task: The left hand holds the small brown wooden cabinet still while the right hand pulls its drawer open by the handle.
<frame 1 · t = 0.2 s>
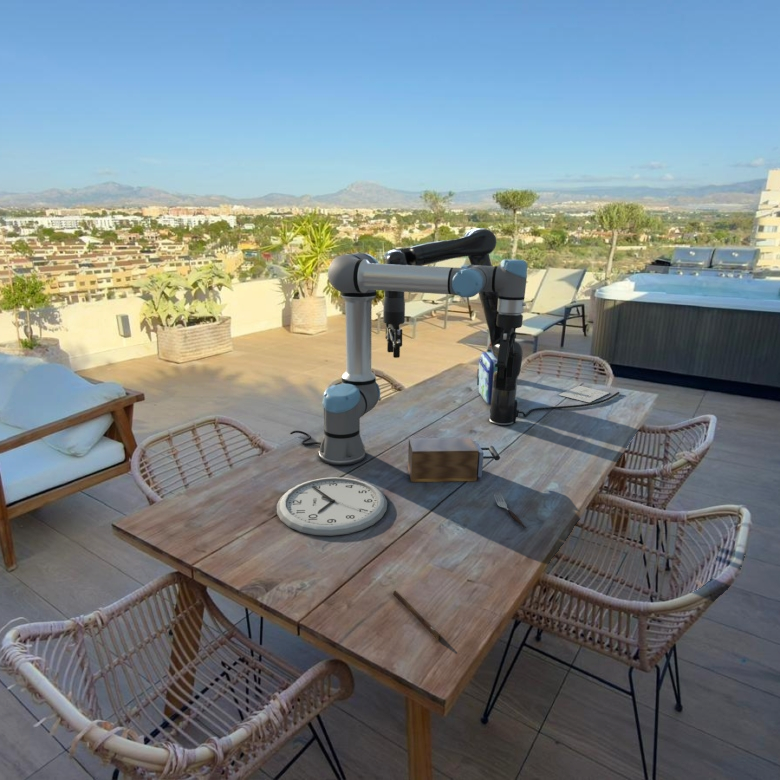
left hand: (504, 382, 161), 28 cm above the table, tool pointing down, fingers open, 13 cm apart
right hand: (393, 354, 187), 29 cm above the table, tool pointing down, fingers open, 8 cm apart
wall clock: (332, 505, 143), on the table
lunch box: (491, 399, 234), on the table
fork: (510, 514, 140), on the table
toy gun: (485, 375, 271), on the table
invitation card: (584, 394, 243), on the table
cabinet: (441, 473, 162), on the table
drawer: (457, 458, 161), point 5 cm above the table, slide at 0.5 cm
dark brown thin rod: (415, 616, 103), on the table
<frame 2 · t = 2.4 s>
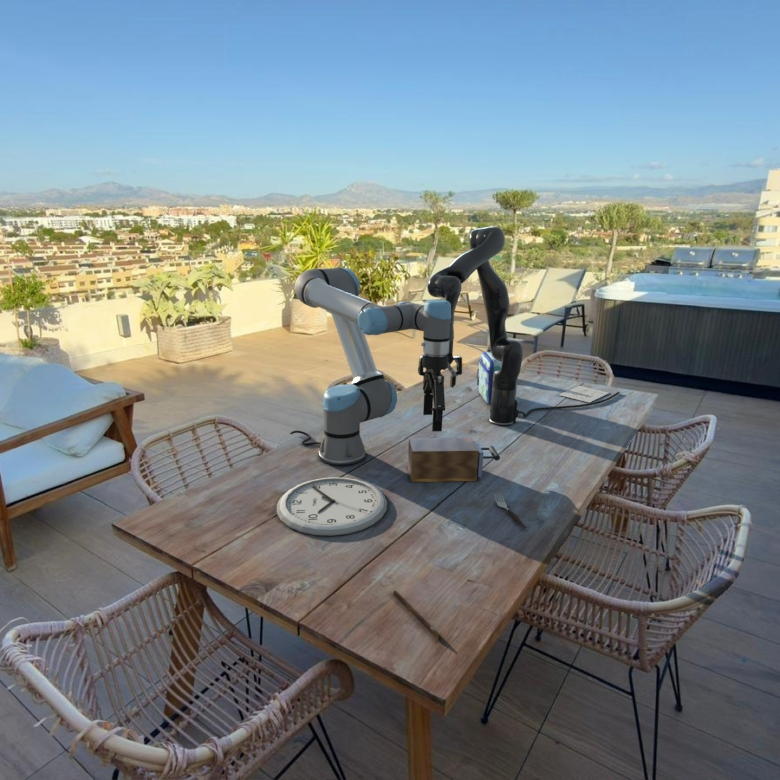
left hand: (432, 422, 158), 17 cm above the table, tool pointing down, fingers open, 13 cm apart
right hand: (439, 387, 172), 23 cm above the table, tool pointing down, fingers open, 8 cm apart
nothing on the table moved.
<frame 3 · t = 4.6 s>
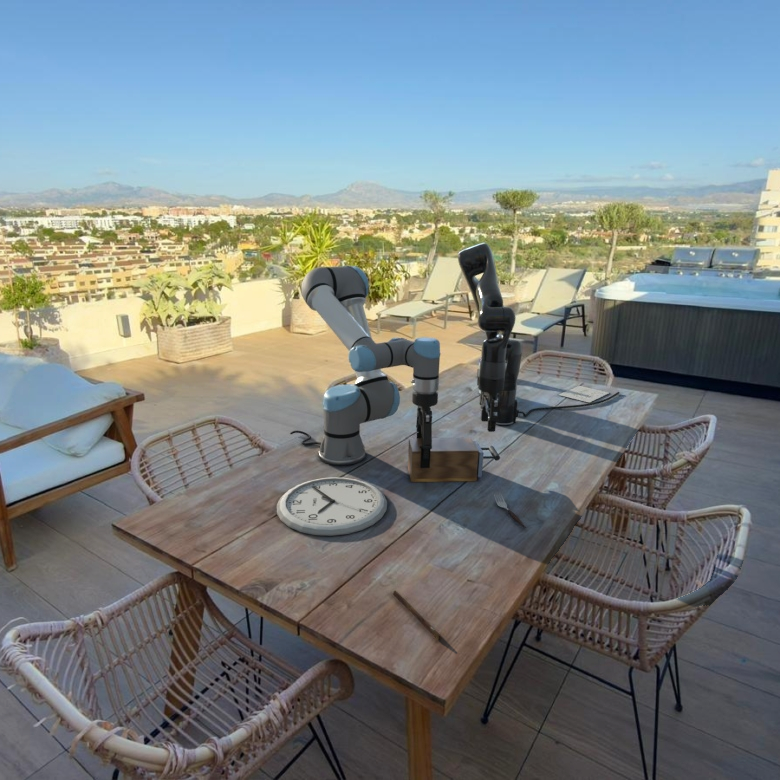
left hand: (422, 459, 160), 5 cm above the table, tool pointing down, fingers closed on cabinet, 10 cm apart
right hand: (487, 426, 159), 16 cm above the table, tool pointing down, fingers open, 8 cm apart
cabinet: (441, 473, 162), on the table, touching left hand
everything else where it was.
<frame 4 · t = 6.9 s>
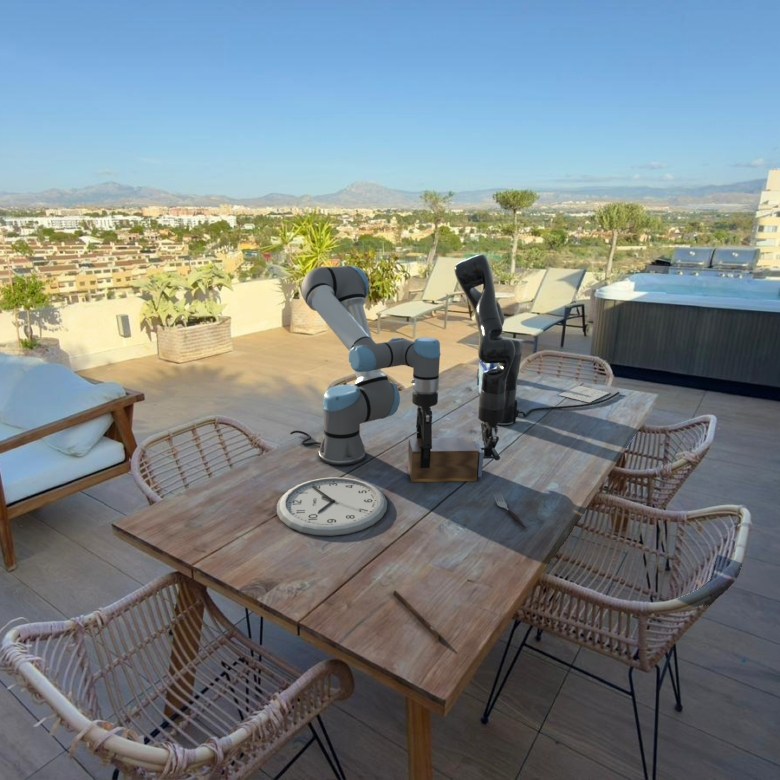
left hand: (422, 459, 160), 5 cm above the table, tool pointing down, fingers closed on cabinet, 10 cm apart
right hand: (487, 457, 162), 5 cm above the table, tool pointing down, fingers closed
cabinet: (441, 473, 162), on the table, touching left hand
drawer: (458, 458, 161), point 5 cm above the table, slide at 0.5 cm, touching right hand
everything else where it was.
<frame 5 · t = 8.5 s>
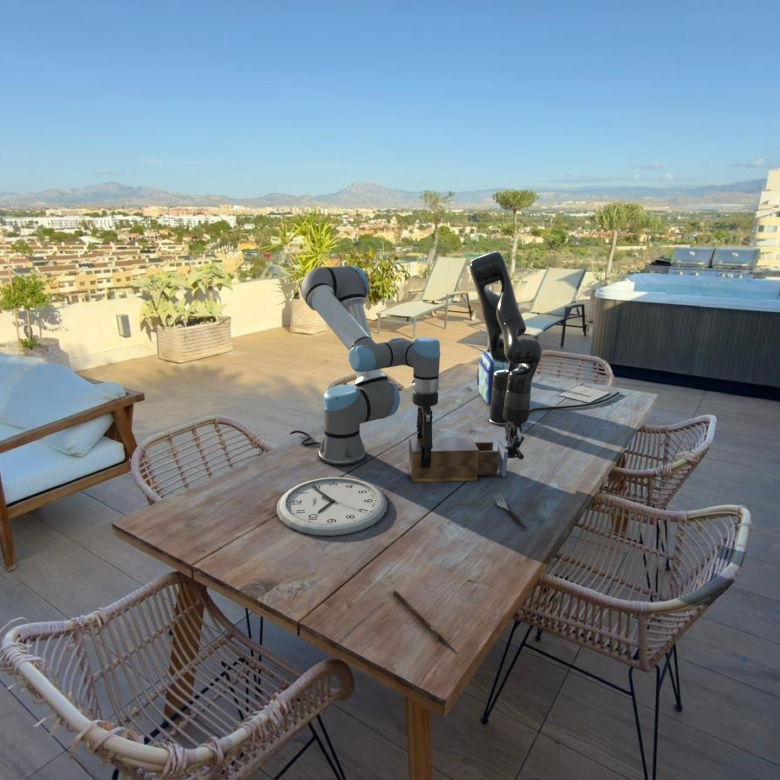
left hand: (423, 459, 160), 5 cm above the table, tool pointing down, fingers closed on cabinet, 10 cm apart
right hand: (510, 457, 162), 5 cm above the table, tool pointing down, fingers closed
cabinet: (442, 473, 162), on the table, touching left hand
drawer: (481, 458, 162), point 5 cm above the table, slide at 7.7 cm, touching right hand
everything else where it was.
when the left hand's fingers open (5 cm above the table, at t = 10.4 s): cabinet stays where it is, on the table.
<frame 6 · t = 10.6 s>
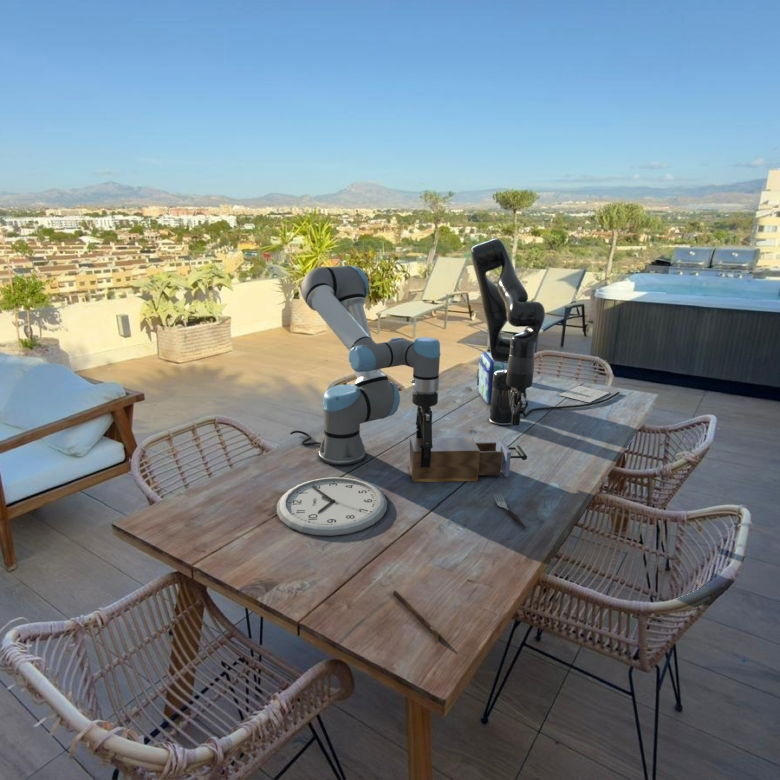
left hand: (422, 458, 160), 5 cm above the table, tool pointing down, fingers open, 12 cm apart
right hand: (515, 424, 159), 16 cm above the table, tool pointing down, fingers closed
cabinet: (442, 473, 162), on the table
drawer: (484, 458, 162), point 5 cm above the table, slide at 8.4 cm
everything else where it was.
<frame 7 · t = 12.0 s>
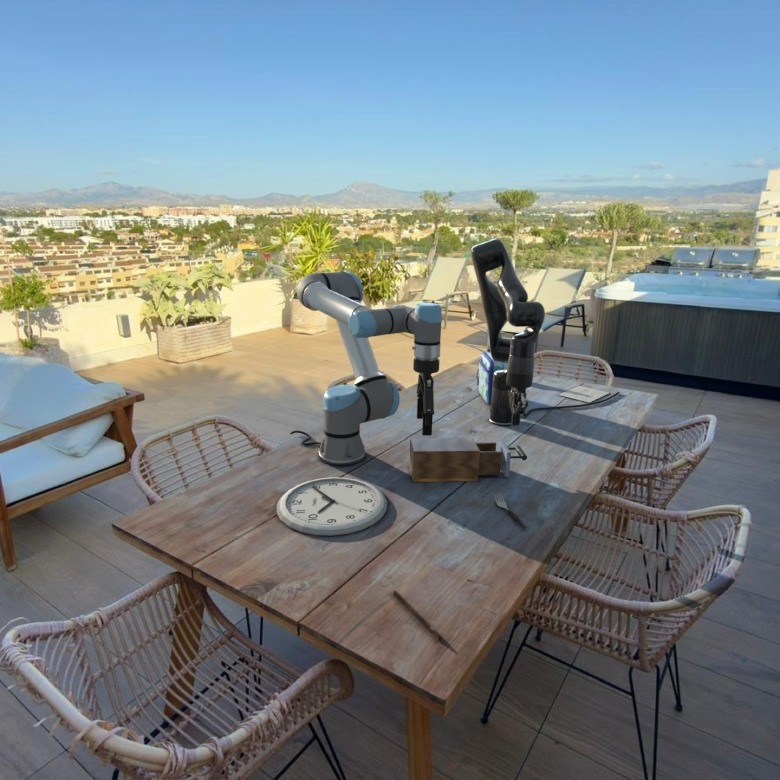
left hand: (423, 426, 157), 16 cm above the table, tool pointing down, fingers open, 13 cm apart
right hand: (515, 424, 159), 16 cm above the table, tool pointing down, fingers closed
nothing on the table moved.
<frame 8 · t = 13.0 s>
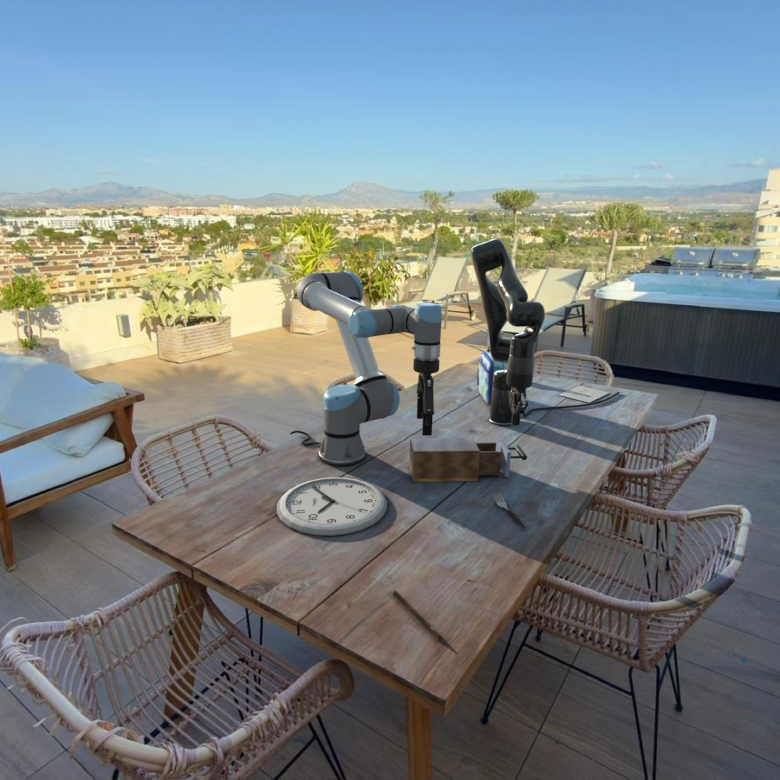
left hand: (423, 426, 157), 16 cm above the table, tool pointing down, fingers open, 13 cm apart
right hand: (515, 424, 159), 16 cm above the table, tool pointing down, fingers closed
nothing on the table moved.
at the end: drawer slide at 8.4 cm; cabinet tilted 0°; cabinet never tilted more than 3° during the clip; cabinet moved 0.4 cm from its start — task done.
